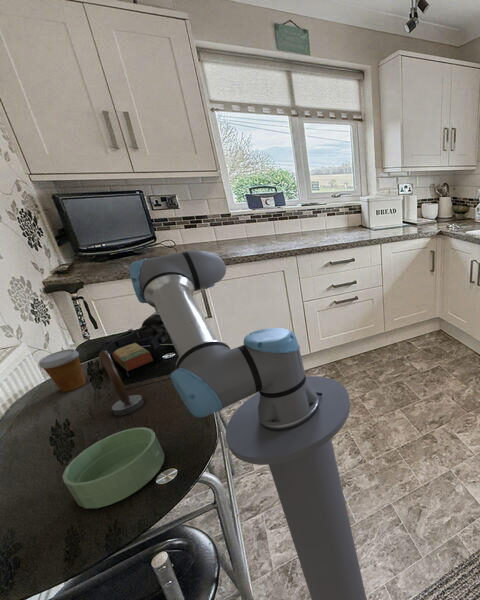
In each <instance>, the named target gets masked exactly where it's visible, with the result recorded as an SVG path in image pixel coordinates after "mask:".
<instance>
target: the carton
mask: <svg viewBox="0 0 480 600" xmlns="http://www.w3.org/2000/svg"><path fill="white" fill-rule="evenodd" d="M111 355H112V357H113V360H114V361H115V362H116V363H117V364H119V365H120V366H121V367H122V368H123V369H124V370H126V371H127V372H129V371H132V370H134V369H137V368H139V367H142V366H144V365H146V364H149V363H151V362H153V361H154V359H153V357H152V354H151V352H150V351H149V350H148V349H146V348H144V347H142V346H141V345H139V344H138V343H136V342H133V343H129V344H126V345H123V346H121V347H118V349H117V350H116V351H115V352H113V353H112V354H111Z"/></svg>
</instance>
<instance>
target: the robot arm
mask: <svg viewBox="0 0 480 600" xmlns="http://www.w3.org/2000/svg"><path fill="white" fill-rule="evenodd" d="M128 272H129V277H130V280H131V284H132V287H133V291H134V294H135V296H136V298H137V300H138V302H139V303H140V304H147V305H149V306H150V307H152V308H154V310H155V312H153V313H152V314H150V315H149V316H148V317H147V318H146V319H145V320H143V322H142V324H141V326H140V328H137V329H133V328H130V329H128V330H127V331H124V332H123V333H121V334H118V335H116V336H114V337H112V338H110V339H108V340H106V341H104V342H103V344H104V347H103V348H102V349H101V350H99V353H100V352H102V351H107V352H108V353H109V355H110V356H111V355H112V353H113V352H115V351H116V350H117V349H119V348H121V347H124V346H126V345H128V344H131V343H132V342H135V341H140V340H143V339H147V338H151V337H152V340H150V342H149V345H150V348H151V350H152V351H156V350H157V349H158V348H159V347H160V346H161V345H162V344H163V343H164V342H165V341H167V340H171V343H172V345H173V347H174V349H175V352H176V354H177V356H178V358H177V360H176V362H175V370H173V371H172V372H171V373H170V380H171V382H172V385H173V386H174V388H175V391H176V392H177V393H178V395H179V397H180V399H181V401H182V402H183V404H184V406H185V407H186V409H187V410H188V411H189V413H190V414H192V415H193V416H194V417H195V418H200V419H201V418H205V417H207V416H210V415H212V414H215V413H220V412H221V411H222V410H223V409H225V408H228V407H229V406H231V405H234V404H236V403H238V402H241V401H242V400H244V399H246V398H249V397H252V396H254V395H255V394H257V393H258V392H259V393H260V400H259V405H258V408H259V411H258V417H259V420H260V423H261V425H262V427H264V428H265V429H267V430H270V431H285V430H290V429H293V428H296V427H298V426H300V425H302V424H304V423H305V422H307V421H308V420H310V419H311V418H312V417H313V416H314V415H315V413H316V412H317V410H318V408H319V400H318V396H322V393H319V392H315V391H314V389H313V388H312V386H311V385H310V383H309V382H308V381H307V379H306V377H307V375H306V372H305V367H304V363H303V358H302V355H301V353H302V352H301V350H300V348H301V347H300V344H299V341H298V339H297V336H296V333H294V331H292V330H290V329H288V328H284V327H266V328H261V329H257V330H254V331H252V332H249V334H246V336H245V337H244V338H243V344H242V345H240V346H237V347H234V348H231V347H230V346H229V345H228V344H227V343H226V342H224V341H221V340H218V339H217V337H216V335H215V333H214V332H213V330H212V328H211V326H210V324H209V323H208V321H207V319H206V318H205V316H204V313H203V311H202V310H201V309H200V307H199V305H198V303H197V301H196V299H195V297H193V296H194V294H195V292H199V291H203V290H207V289H210V288H213V287H215V284H217V283H219V282H220V281H222V280H223V279H224V277H225V276H226V274H227V265H226V263H225V261H224V260H223V259H222V258H221V257H220V256H219V255H217V254H215V253H213V252H210V251H205V250H195V249H194V250H188V251H183V252H178V253H172V254H167V255H161V256H155V257H149V258H143V259H141V260H137V261H133V262H131V263H130V265H129V267H128ZM317 395H318V396H317Z"/></svg>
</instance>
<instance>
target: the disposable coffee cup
mask: <svg viewBox="0 0 480 600" xmlns="http://www.w3.org/2000/svg"><path fill="white" fill-rule="evenodd" d="M79 354H80V353H79V351H77V349H74V348H68V349H62V350H58V351H55V352H53V353H50V354H48V355H46V356H44V357H42V358H40V359H39V362H38V363H39V364H38V366H39V367H40V368H41V369H43V370H44V372H45V373H46V374H47V375H48V376H49V378H51V380H52V381H53V382H54V383H55V385H56V387H58V388H59V390H60V391H61V392H70V391H73V390H76V389H79V388H80V387H82V386H84V385H85V384H86V383H87V379H86V377H85V374H84V373H85V372H84V370H83V367H82V363H81V360H80V357H79ZM83 381H84V382H83Z"/></svg>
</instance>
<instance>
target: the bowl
mask: <svg viewBox="0 0 480 600" xmlns="http://www.w3.org/2000/svg"><path fill="white" fill-rule="evenodd" d="M164 462H165V453H164V450H163V448H162V446H161V444H160V441H159V439H158V437H157V434H156V433H155V432H154V431H153V429H152V428H148V427H145V426H143V427H132V428H128V429H124V430H120V431H118V432H115V433H113V434H110V435H109V436H106V437H104V438H102V439H100V440H98V441H96V442H94V443H93V444H91V445H90V446H89V447H87V448H86V449H84V450H82V451H81V452H80V453H78V455H76V456H75V457H74V458H73V459H72V460H71V461H70V463H68V465H66V467H65V469H64V472H63V474H62V480H63V483H64V484H65V487H66V488H67V489H68V490H69V492H70V494H71V496H72V497H73V500H74V501H75V502H76V503H77V505H78V506H79V507H80V508H83V509H86V510H87V509H88V510H89V509H100V508H104V507H107V506H110V505H113V504H115V503H117V502H120V501H123V500H125V499H126V498H128V497H130V496H132V495H133V494H134V493H136V492H138V491H139V490H141V489H142V488H143V487H144V486H146V485H147V484H148V483H149V482H150V481H151V480H153V478H154V477H155V476H156V475H157V474H158V472H159V471H160V470H161V468H162V466H163V465H164Z"/></svg>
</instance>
